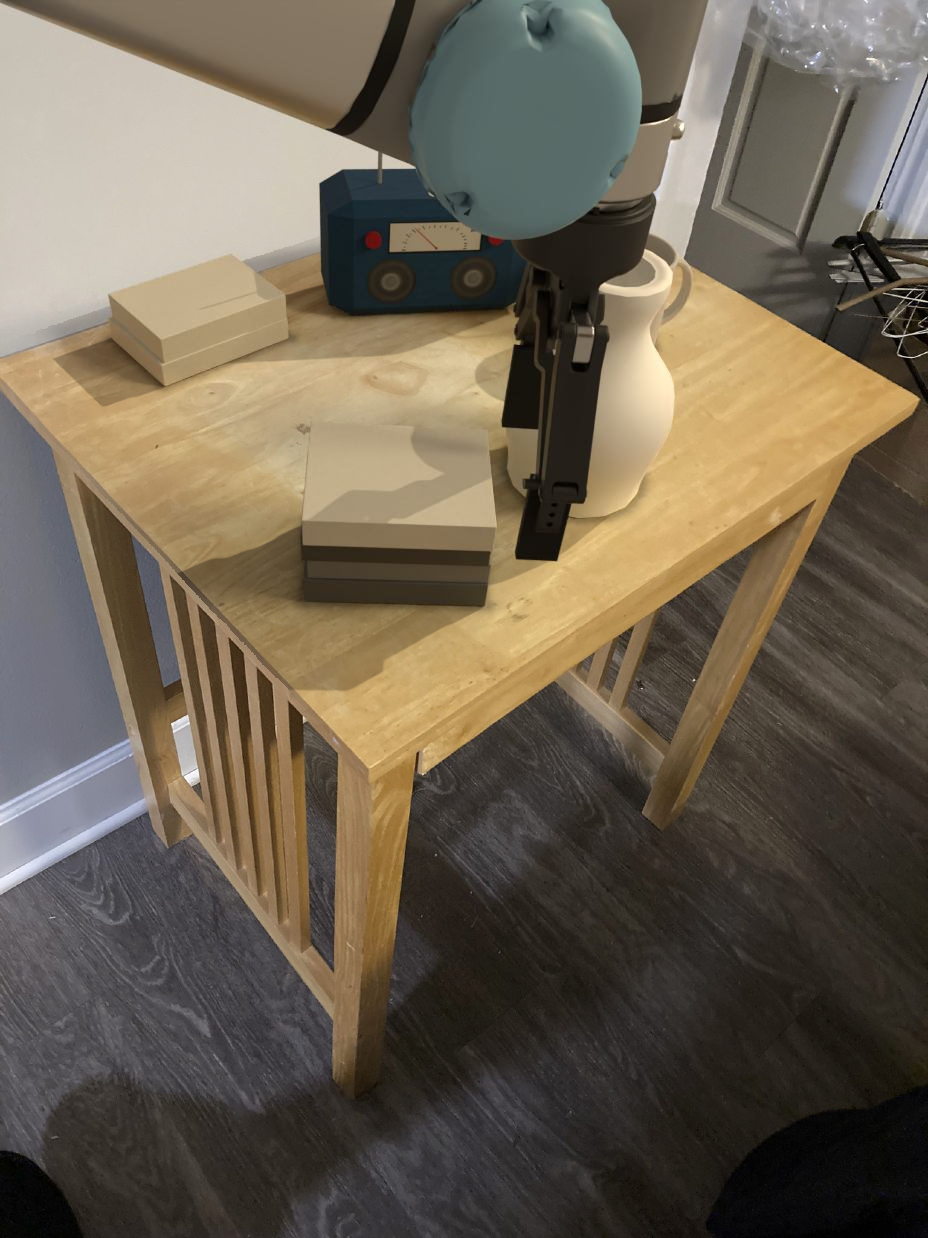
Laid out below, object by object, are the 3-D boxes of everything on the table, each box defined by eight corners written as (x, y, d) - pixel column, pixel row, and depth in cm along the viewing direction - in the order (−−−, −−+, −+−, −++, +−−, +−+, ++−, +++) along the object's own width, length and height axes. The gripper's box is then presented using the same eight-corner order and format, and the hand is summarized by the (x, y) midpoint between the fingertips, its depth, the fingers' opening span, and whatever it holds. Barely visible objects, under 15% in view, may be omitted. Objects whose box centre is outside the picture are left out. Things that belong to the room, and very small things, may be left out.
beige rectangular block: (164, 386, 90) (157, 341, 86) (111, 338, 94) (102, 293, 91) (288, 338, 97) (286, 294, 93) (234, 295, 101) (230, 252, 98)
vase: (461, 465, 86) (485, 254, 72) (563, 404, 94) (605, 202, 79) (583, 551, 81) (638, 341, 66) (682, 479, 88) (752, 276, 73)
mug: (562, 349, 100) (580, 259, 93) (582, 305, 106) (601, 216, 99) (665, 376, 99) (691, 286, 91) (679, 329, 105) (705, 241, 97)
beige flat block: (302, 545, 68) (301, 520, 66) (311, 445, 76) (310, 421, 74) (492, 551, 70) (496, 527, 68) (483, 453, 77) (487, 428, 75)
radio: (331, 324, 99) (328, 120, 84) (320, 279, 105) (316, 80, 90) (526, 315, 104) (557, 120, 89) (506, 273, 109) (531, 82, 94)
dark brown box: (303, 601, 74) (300, 535, 69) (309, 520, 80) (307, 454, 75) (485, 606, 76) (495, 541, 70) (478, 526, 81) (487, 461, 76)
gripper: (706, 313, 43) (605, 625, 59) (623, 92, 60) (561, 382, 75) (540, 300, 42) (482, 620, 58) (502, 81, 59) (465, 376, 75)
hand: (527, 486), depth 67 cm, fingers open, 13 cm apart
